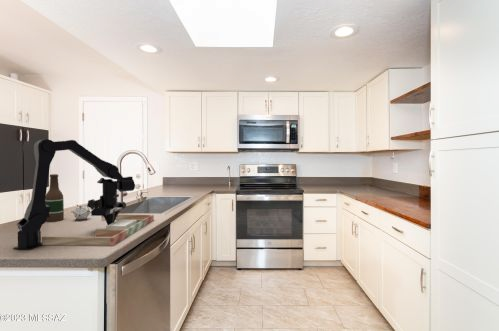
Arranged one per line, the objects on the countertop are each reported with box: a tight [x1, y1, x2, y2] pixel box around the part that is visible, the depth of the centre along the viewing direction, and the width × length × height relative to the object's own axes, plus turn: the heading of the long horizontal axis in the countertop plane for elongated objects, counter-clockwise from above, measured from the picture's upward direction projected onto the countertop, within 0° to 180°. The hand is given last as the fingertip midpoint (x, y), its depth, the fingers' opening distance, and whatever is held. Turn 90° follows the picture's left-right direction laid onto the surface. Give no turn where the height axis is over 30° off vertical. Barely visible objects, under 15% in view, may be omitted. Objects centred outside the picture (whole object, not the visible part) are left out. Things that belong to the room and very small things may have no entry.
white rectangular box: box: [105, 220, 137, 230], centre depth 120 cm, size 11×8×4 cm
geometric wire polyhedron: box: [71, 203, 91, 221], centre depth 140 cm, size 9×8×10 cm
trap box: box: [41, 214, 155, 247], centre depth 120 cm, size 40×27×3 cm
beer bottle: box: [45, 173, 65, 223], centre depth 138 cm, size 8×8×24 cm
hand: (110, 227), depth 120 cm, fingers closed
